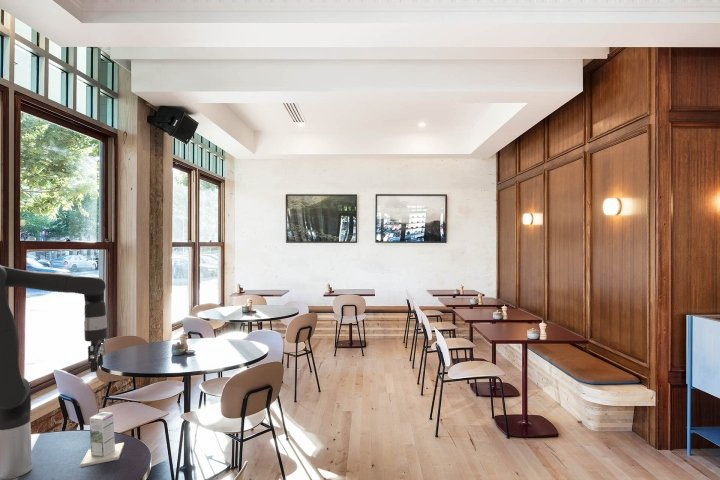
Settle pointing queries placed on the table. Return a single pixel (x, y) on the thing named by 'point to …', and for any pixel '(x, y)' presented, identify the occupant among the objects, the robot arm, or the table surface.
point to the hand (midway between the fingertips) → (97, 368)
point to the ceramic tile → (97, 459)
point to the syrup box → (102, 434)
